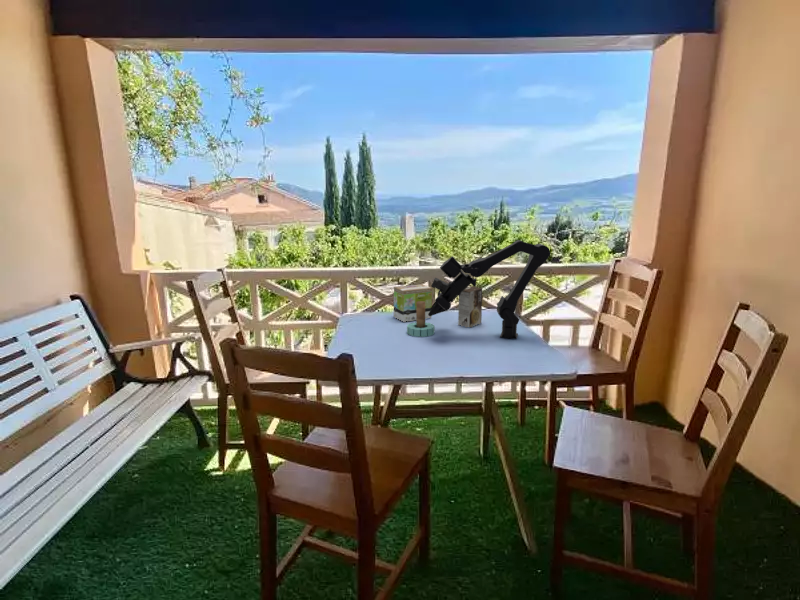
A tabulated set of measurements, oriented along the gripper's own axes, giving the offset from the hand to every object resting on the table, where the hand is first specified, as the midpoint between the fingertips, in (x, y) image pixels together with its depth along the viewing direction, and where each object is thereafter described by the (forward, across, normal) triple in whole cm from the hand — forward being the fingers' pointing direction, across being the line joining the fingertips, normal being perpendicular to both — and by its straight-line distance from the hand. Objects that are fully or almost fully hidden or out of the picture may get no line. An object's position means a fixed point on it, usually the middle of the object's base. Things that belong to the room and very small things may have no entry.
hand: (430, 312), depth 184 cm
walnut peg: (+9, -2, +4) cm, 10 cm away
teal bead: (+9, -2, +4) cm, 10 cm away
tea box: (+14, -24, -1) cm, 28 cm away
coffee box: (-4, -17, +18) cm, 25 cm away
